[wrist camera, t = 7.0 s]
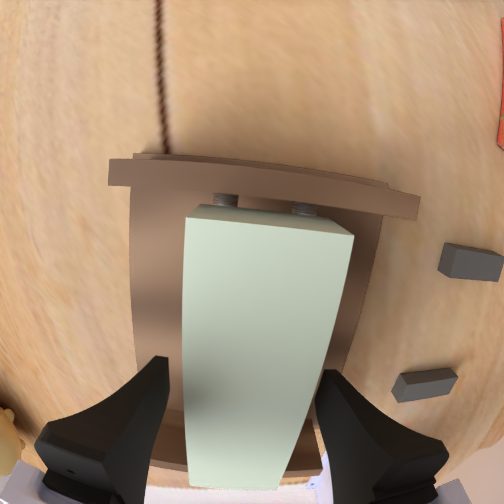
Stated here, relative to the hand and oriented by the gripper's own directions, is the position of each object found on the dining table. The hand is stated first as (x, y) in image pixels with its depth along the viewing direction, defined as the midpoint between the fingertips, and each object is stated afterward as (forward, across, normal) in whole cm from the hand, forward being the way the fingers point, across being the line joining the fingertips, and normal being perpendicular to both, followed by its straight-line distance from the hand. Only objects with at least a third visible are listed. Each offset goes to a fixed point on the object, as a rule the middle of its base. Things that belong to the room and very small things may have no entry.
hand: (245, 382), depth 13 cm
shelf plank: (+1, 0, 0) cm, 1 cm away
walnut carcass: (+6, 0, 0) cm, 6 cm away
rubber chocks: (+6, -16, 0) cm, 17 cm away
